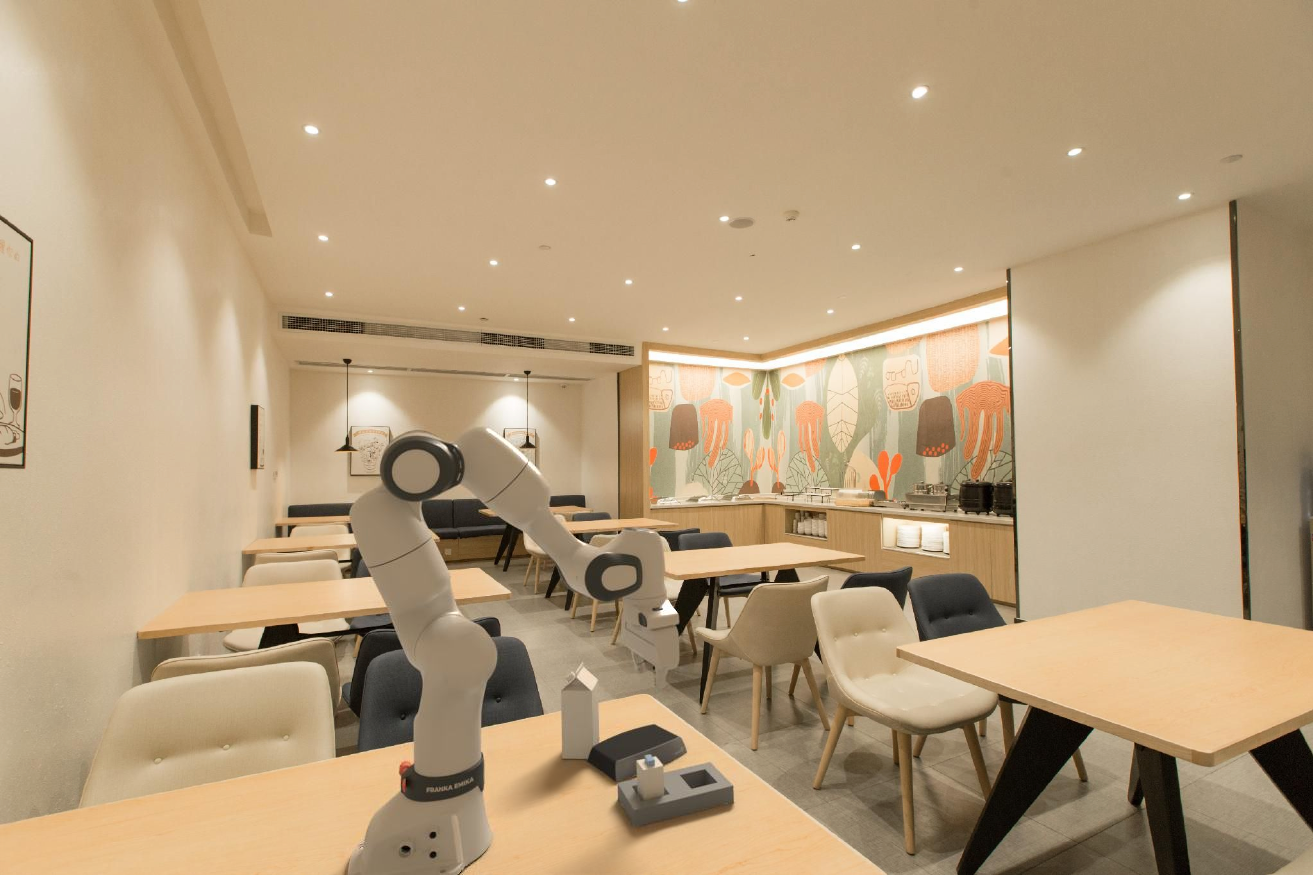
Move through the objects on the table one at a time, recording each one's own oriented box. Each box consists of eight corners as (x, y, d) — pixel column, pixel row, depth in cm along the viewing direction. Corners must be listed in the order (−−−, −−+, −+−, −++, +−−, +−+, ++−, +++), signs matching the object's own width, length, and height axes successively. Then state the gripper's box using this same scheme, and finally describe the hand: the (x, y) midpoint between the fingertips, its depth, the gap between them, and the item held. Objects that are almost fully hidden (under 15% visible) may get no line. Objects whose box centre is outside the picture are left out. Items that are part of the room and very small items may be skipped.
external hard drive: (689, 755, 131) (689, 736, 131) (618, 785, 119) (617, 765, 119) (654, 736, 141) (653, 718, 142) (585, 762, 129) (584, 743, 130)
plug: (644, 814, 108) (643, 764, 109) (637, 803, 112) (636, 755, 112) (664, 809, 109) (663, 760, 110) (657, 798, 113) (655, 750, 114)
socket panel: (634, 827, 104) (634, 810, 104) (617, 798, 113) (617, 783, 114) (733, 801, 111) (733, 785, 112) (710, 776, 121) (710, 761, 121)
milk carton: (599, 745, 136) (597, 662, 137) (593, 760, 129) (591, 672, 130) (569, 744, 137) (568, 662, 138) (561, 759, 130) (560, 672, 131)
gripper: (611, 601, 124) (615, 667, 123) (652, 622, 105) (657, 700, 105) (639, 596, 127) (643, 661, 126) (683, 616, 108) (688, 692, 108)
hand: (649, 679), depth 115 cm, fingers open, 8 cm apart
